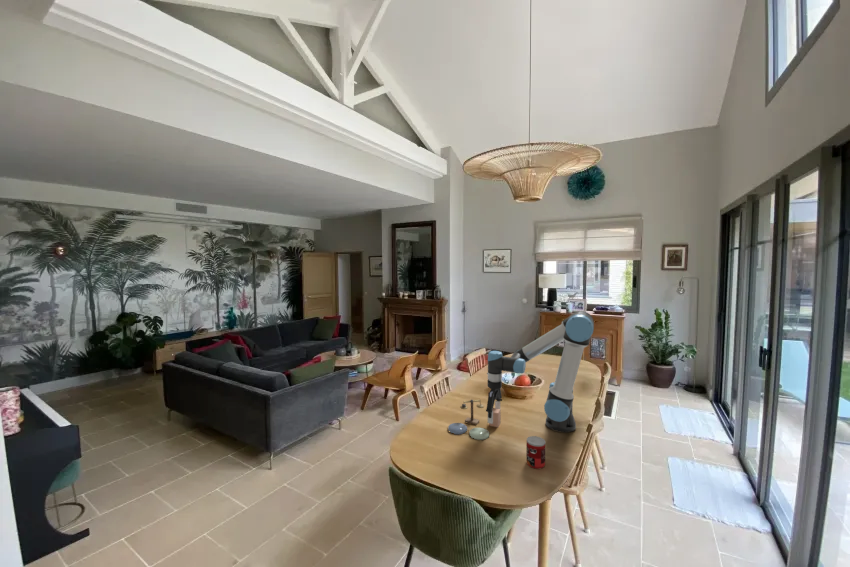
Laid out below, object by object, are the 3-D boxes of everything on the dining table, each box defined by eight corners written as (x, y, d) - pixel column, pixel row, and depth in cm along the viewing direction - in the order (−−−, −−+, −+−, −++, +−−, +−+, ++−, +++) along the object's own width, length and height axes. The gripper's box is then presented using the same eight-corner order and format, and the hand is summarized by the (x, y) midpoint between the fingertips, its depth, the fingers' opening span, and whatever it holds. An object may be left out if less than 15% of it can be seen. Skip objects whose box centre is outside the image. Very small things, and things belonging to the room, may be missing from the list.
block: (500, 423, 193) (500, 409, 193) (497, 427, 189) (497, 413, 188) (491, 421, 196) (491, 407, 195) (488, 425, 191) (488, 411, 191)
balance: (485, 423, 194) (484, 399, 193) (482, 426, 191) (482, 402, 189) (462, 418, 200) (461, 394, 199) (459, 421, 197) (459, 397, 196)
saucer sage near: (491, 432, 184) (491, 430, 184) (485, 441, 175) (485, 439, 175) (473, 428, 189) (473, 426, 189) (466, 437, 180) (466, 434, 180)
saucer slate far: (469, 427, 190) (469, 425, 190) (462, 436, 181) (462, 433, 181) (452, 423, 194) (452, 421, 194) (445, 431, 186) (445, 429, 186)
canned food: (523, 459, 160) (523, 436, 159) (540, 458, 160) (541, 435, 159) (530, 470, 152) (530, 445, 151) (548, 468, 153) (548, 444, 152)
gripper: (494, 371, 203) (494, 406, 205) (480, 386, 181) (479, 426, 183) (507, 373, 199) (507, 409, 201) (494, 389, 177) (493, 429, 180)
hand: (494, 417), depth 192 cm, fingers open, 13 cm apart
